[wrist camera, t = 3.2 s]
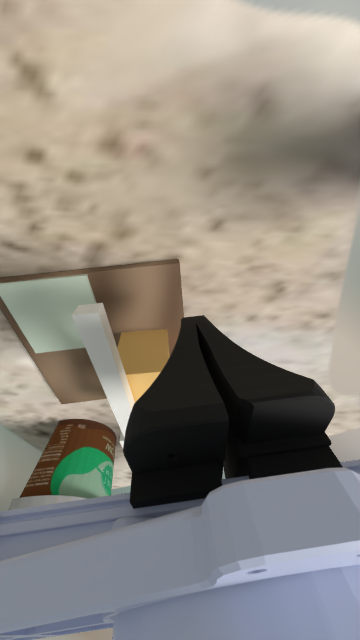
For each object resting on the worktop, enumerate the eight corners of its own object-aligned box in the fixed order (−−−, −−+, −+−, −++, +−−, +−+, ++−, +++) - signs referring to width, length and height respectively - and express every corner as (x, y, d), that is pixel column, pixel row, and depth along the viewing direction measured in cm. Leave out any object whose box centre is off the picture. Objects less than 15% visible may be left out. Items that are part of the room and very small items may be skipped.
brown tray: (178, 259, 16) (187, 290, 11) (188, 380, 23) (196, 433, 18) (-7, 278, 15) (-89, 320, 10) (65, 396, 23) (38, 454, 18)
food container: (137, 450, 30) (130, 548, 22) (99, 459, 31) (77, 559, 22) (100, 402, 24) (69, 516, 15) (52, 414, 24) (-4, 532, 16)
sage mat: (86, 274, 15) (85, 275, 14) (110, 342, 18) (109, 344, 18) (-4, 283, 14) (-7, 285, 14) (37, 351, 18) (35, 353, 18)
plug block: (167, 328, 18) (169, 371, 14) (169, 361, 20) (172, 407, 16) (121, 332, 18) (109, 376, 13) (129, 365, 20) (121, 412, 16)
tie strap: (110, 300, 10) (105, 312, 9) (150, 435, 17) (150, 450, 16) (71, 305, 10) (61, 317, 9) (127, 438, 17) (125, 454, 16)
